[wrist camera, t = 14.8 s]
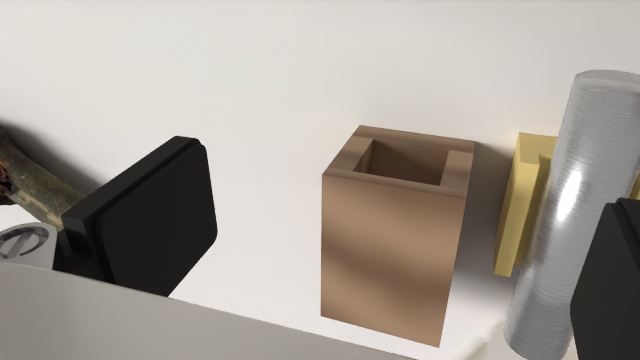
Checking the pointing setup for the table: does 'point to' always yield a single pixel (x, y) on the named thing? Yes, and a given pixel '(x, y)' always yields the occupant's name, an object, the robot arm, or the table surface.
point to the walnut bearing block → (393, 230)
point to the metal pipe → (33, 186)
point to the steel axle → (574, 207)
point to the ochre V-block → (525, 199)
